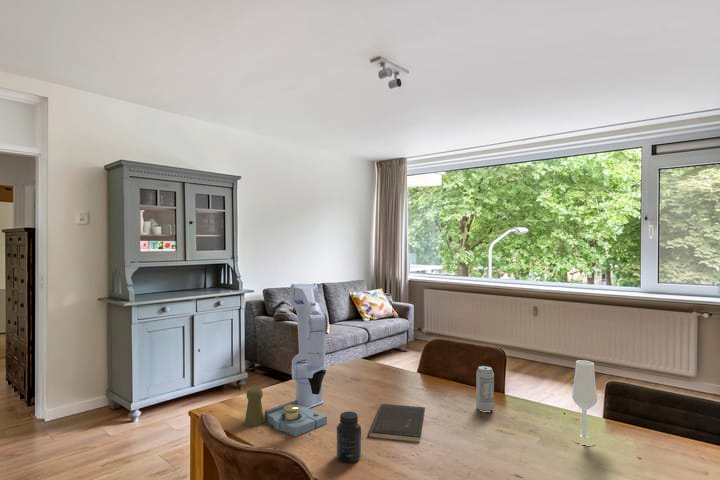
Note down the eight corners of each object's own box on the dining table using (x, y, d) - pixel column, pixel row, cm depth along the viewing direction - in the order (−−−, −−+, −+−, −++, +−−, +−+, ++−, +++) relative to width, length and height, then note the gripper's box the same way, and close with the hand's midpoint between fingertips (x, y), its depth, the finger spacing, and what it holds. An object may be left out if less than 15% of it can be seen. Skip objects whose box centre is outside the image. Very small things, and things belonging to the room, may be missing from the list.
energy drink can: (491, 407, 157) (492, 365, 157) (495, 413, 151) (495, 370, 151) (474, 406, 158) (475, 365, 158) (477, 412, 152) (478, 370, 152)
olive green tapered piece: (259, 427, 138) (259, 393, 138) (241, 425, 139) (241, 391, 139) (266, 419, 144) (267, 386, 144) (249, 418, 145) (250, 385, 145)
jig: (296, 410, 152) (296, 400, 152) (326, 423, 141) (326, 413, 141) (262, 422, 142) (262, 411, 142) (292, 437, 131) (292, 426, 131)
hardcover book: (425, 413, 152) (425, 407, 152) (420, 444, 129) (420, 436, 129) (380, 409, 155) (380, 403, 155) (367, 438, 132) (367, 431, 132)
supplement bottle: (335, 452, 123) (336, 409, 123) (359, 451, 123) (360, 409, 123) (336, 464, 116) (337, 420, 116) (362, 463, 117) (362, 419, 117)
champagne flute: (587, 448, 127) (588, 366, 126) (566, 439, 133) (567, 360, 132) (601, 443, 130) (602, 363, 130) (580, 434, 136) (582, 358, 136)
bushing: (297, 421, 143) (297, 403, 143) (300, 427, 138) (300, 409, 138) (282, 423, 141) (282, 405, 141) (285, 430, 136) (285, 411, 136)
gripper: (311, 345, 148) (311, 385, 148) (296, 356, 134) (296, 400, 134) (331, 346, 146) (331, 386, 146) (318, 358, 132) (317, 402, 132)
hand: (315, 393), depth 140 cm, fingers closed
